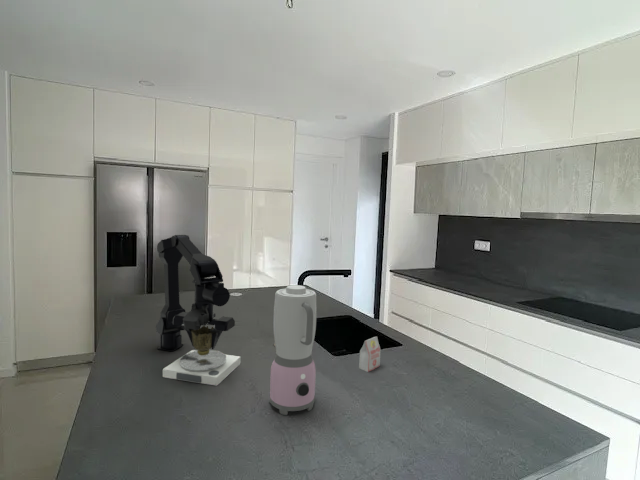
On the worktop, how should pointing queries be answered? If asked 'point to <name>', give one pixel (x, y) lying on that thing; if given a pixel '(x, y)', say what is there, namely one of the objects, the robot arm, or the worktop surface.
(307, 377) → the blender
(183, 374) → the scale base
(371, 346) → the milk carton
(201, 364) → the scale pan
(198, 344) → the cup
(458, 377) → the worktop surface
